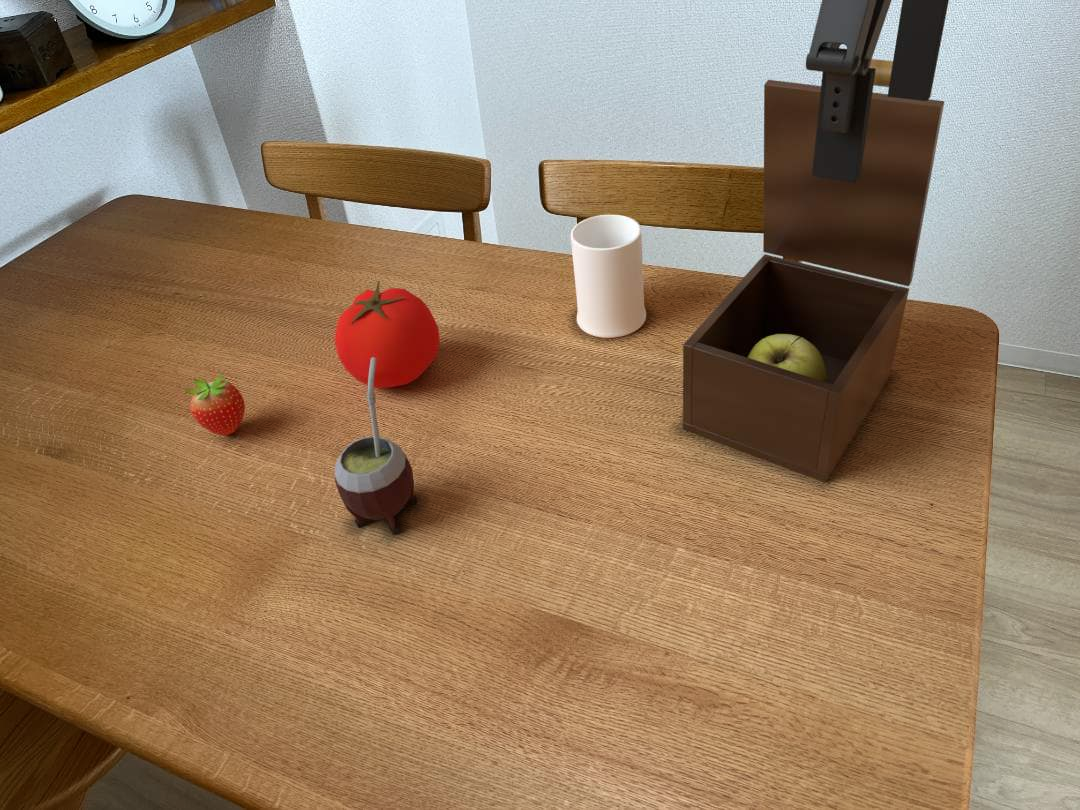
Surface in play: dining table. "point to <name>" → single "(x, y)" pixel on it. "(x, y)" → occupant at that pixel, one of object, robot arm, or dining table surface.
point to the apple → (790, 355)
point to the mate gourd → (374, 474)
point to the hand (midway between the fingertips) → (874, 134)
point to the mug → (608, 275)
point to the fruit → (217, 406)
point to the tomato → (387, 337)
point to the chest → (781, 395)
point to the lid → (848, 183)
